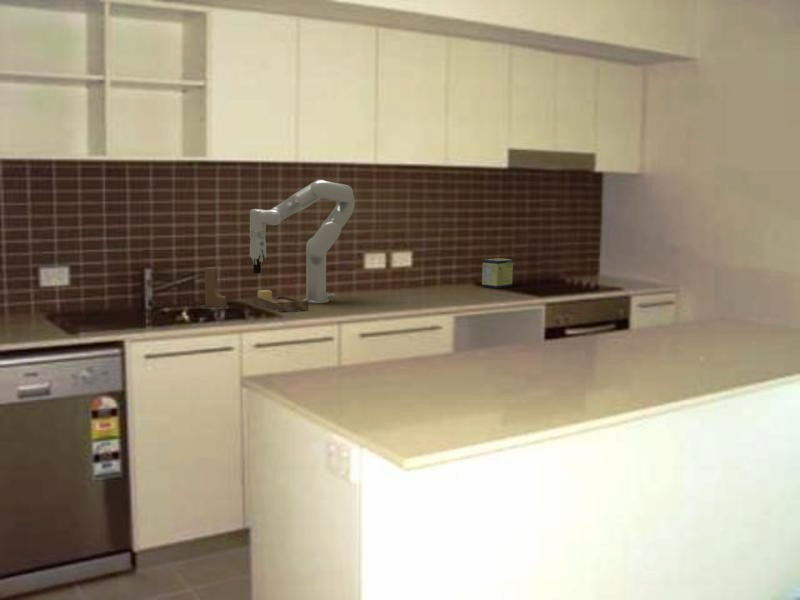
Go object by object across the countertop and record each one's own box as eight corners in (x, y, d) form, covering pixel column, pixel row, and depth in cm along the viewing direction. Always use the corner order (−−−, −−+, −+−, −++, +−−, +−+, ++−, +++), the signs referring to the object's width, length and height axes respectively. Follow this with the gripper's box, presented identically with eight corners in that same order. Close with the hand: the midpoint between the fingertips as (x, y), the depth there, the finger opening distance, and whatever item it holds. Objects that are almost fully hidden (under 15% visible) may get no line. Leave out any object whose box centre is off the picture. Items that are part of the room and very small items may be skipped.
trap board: (280, 301, 427) (280, 292, 426) (308, 310, 402) (308, 300, 402) (254, 303, 420) (254, 294, 419) (280, 312, 395) (280, 302, 394)
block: (267, 298, 422) (267, 289, 421) (271, 299, 418) (271, 291, 417) (257, 298, 419) (257, 290, 419) (262, 300, 415) (262, 291, 415)
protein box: (512, 286, 501) (513, 259, 499) (496, 288, 490) (497, 260, 487) (497, 284, 508) (498, 257, 506) (481, 286, 497) (482, 259, 494)
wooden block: (226, 306, 411) (226, 267, 408) (223, 307, 407) (223, 268, 404) (208, 305, 412) (208, 267, 410) (205, 306, 408) (204, 268, 406)
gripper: (271, 236, 416) (270, 274, 419) (258, 233, 429) (258, 271, 431) (256, 236, 412) (256, 275, 415) (244, 233, 425) (243, 271, 427)
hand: (257, 272), depth 423 cm, fingers closed
